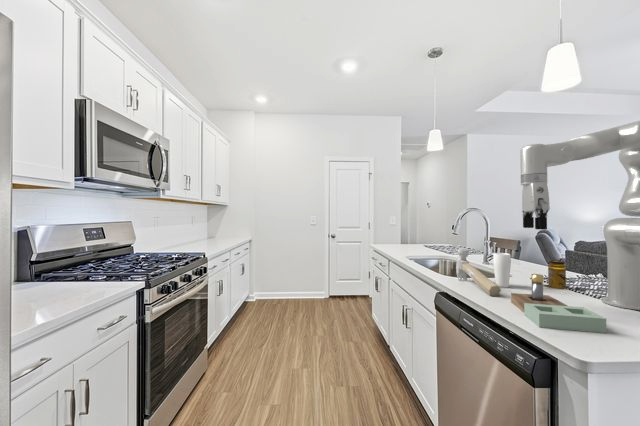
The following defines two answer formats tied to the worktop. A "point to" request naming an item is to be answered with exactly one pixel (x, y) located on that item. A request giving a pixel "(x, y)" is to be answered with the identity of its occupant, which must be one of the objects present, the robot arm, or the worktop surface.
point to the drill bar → (537, 287)
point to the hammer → (474, 274)
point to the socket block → (527, 298)
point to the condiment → (556, 275)
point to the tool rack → (565, 317)
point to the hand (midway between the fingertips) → (534, 228)
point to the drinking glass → (502, 268)
